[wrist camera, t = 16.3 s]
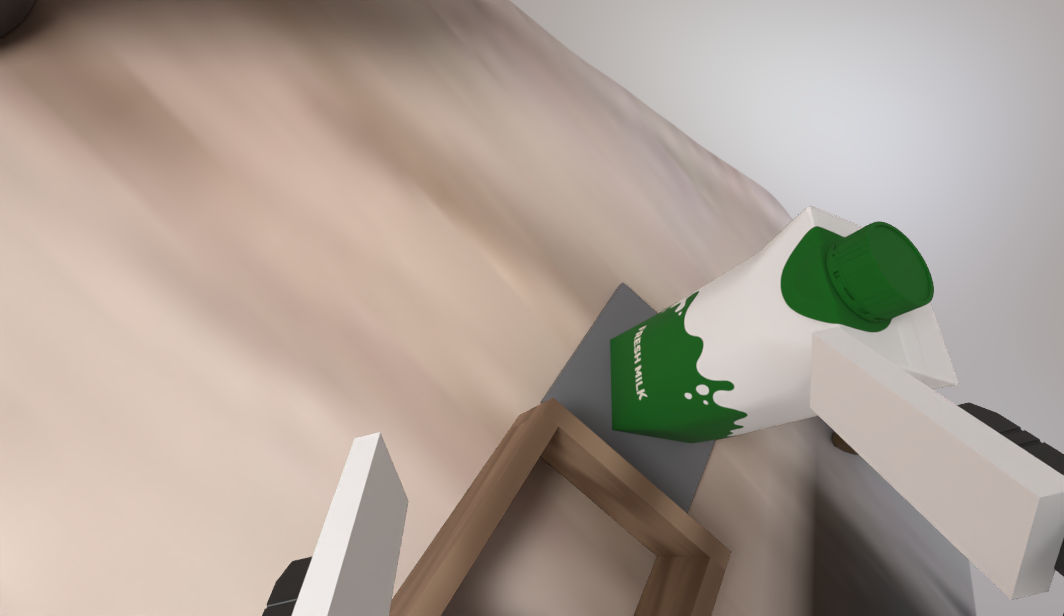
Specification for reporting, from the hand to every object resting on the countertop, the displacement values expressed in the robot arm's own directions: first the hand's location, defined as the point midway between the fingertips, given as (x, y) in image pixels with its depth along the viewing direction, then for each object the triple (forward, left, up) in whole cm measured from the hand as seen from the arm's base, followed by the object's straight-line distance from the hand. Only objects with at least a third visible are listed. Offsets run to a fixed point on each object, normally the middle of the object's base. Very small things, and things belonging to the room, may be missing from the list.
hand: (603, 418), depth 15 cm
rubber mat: (+9, +15, -18) cm, 25 cm away
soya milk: (+9, +15, -17) cm, 24 cm away
